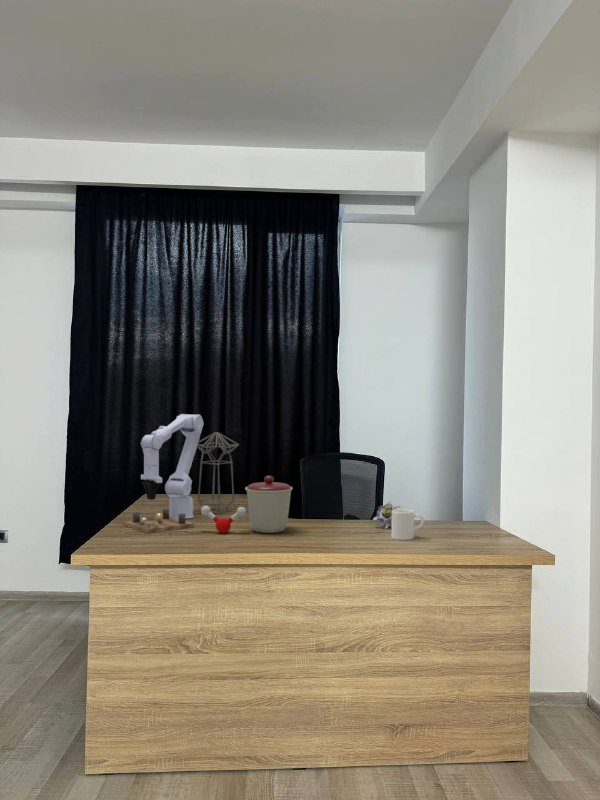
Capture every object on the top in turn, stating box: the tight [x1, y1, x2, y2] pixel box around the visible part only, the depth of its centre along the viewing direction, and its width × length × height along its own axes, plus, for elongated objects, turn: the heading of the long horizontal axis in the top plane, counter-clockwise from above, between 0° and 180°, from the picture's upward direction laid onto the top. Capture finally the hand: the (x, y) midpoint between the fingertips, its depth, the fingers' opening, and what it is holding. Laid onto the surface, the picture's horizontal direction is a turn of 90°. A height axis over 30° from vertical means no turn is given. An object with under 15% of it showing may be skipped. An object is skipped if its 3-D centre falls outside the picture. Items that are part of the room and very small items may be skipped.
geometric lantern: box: [196, 431, 240, 514], centre depth 322 cm, size 16×16×35 cm
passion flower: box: [372, 501, 402, 530], centre depth 289 cm, size 11×11×12 cm
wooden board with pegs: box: [123, 508, 195, 534], centre depth 287 cm, size 20×20×5 cm
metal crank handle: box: [140, 512, 163, 525], centre depth 285 cm, size 9×3×3 cm, turn 128°
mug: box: [390, 508, 426, 541], centre depth 267 cm, size 8×12×10 cm, turn 82°
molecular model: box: [200, 505, 248, 534], centre depth 275 cm, size 18×6×10 cm, turn 79°
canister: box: [244, 475, 293, 534], centre depth 279 cm, size 18×18×21 cm
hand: (151, 499), depth 291 cm, fingers closed
